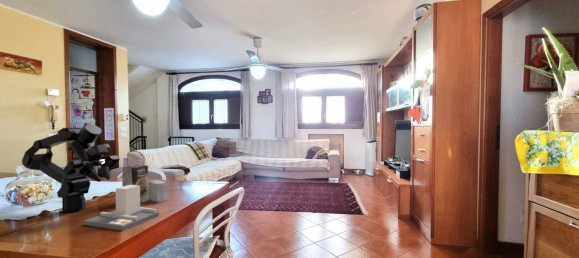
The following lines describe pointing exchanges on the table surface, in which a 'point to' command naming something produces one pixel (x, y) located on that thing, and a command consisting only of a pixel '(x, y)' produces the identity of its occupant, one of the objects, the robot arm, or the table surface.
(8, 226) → the table surface
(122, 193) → the toggle
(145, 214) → the switch board
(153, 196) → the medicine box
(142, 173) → the coffee box
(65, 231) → the table surface
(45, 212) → the table surface
